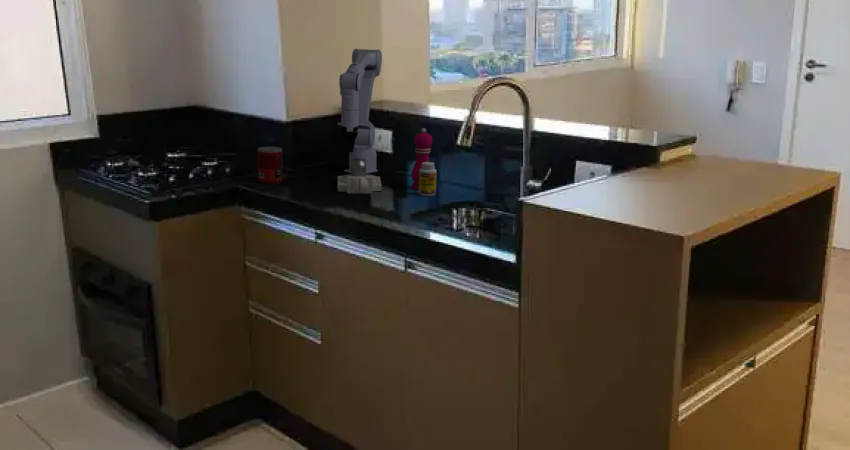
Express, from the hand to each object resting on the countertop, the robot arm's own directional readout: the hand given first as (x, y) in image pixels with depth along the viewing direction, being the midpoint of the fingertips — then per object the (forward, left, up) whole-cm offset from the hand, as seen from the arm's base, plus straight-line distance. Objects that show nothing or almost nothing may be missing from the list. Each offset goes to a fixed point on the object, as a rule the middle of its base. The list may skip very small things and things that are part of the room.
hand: (349, 150), depth 273 cm
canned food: (+21, -16, -11) cm, 28 cm away
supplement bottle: (-5, +31, -11) cm, 33 cm away
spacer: (+4, +9, -7) cm, 12 cm away
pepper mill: (-10, +24, -11) cm, 28 cm away
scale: (+5, +10, -10) cm, 15 cm away
